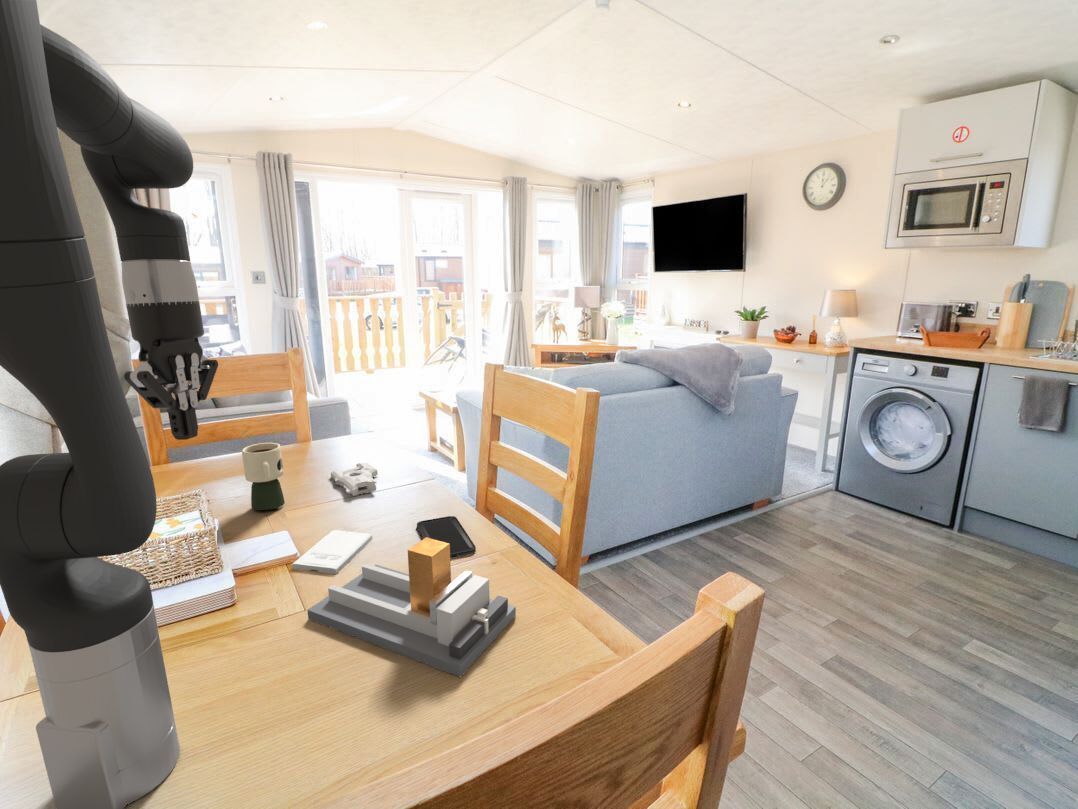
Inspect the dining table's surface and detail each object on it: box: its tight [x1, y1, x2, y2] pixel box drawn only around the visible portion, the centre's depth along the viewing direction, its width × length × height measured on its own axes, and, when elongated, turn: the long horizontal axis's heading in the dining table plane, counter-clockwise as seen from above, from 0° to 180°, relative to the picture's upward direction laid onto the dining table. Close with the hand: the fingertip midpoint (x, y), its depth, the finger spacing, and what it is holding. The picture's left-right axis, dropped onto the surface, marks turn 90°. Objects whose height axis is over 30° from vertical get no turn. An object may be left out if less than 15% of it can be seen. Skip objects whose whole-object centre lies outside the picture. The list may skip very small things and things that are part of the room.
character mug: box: [241, 442, 286, 511], centre depth 116 cm, size 11×7×13 cm, turn 32°
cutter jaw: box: [404, 538, 473, 625], centre depth 78 cm, size 7×8×10 cm
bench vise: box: [307, 563, 517, 677], centre depth 81 cm, size 26×14×6 cm, turn 63°
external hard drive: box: [291, 529, 373, 575], centre depth 99 cm, size 2×8×12 cm
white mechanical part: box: [330, 462, 378, 497], centre depth 131 cm, size 18×3×10 cm
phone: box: [416, 515, 477, 560], centre depth 105 cm, size 8×1×15 cm
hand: (186, 437), depth 72 cm, fingers closed
